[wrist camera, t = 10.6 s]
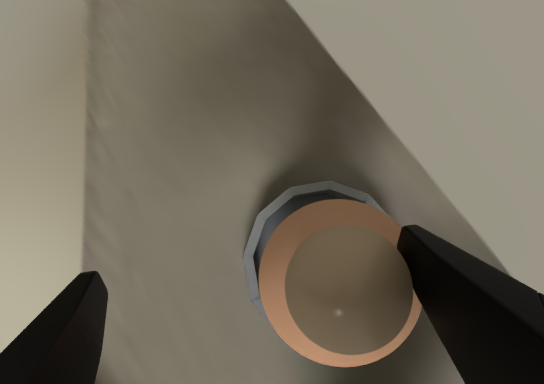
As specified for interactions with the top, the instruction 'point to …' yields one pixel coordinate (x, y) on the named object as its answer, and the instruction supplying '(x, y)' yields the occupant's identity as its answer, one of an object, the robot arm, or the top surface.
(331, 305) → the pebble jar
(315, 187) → the slate bowl
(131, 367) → the top surface
